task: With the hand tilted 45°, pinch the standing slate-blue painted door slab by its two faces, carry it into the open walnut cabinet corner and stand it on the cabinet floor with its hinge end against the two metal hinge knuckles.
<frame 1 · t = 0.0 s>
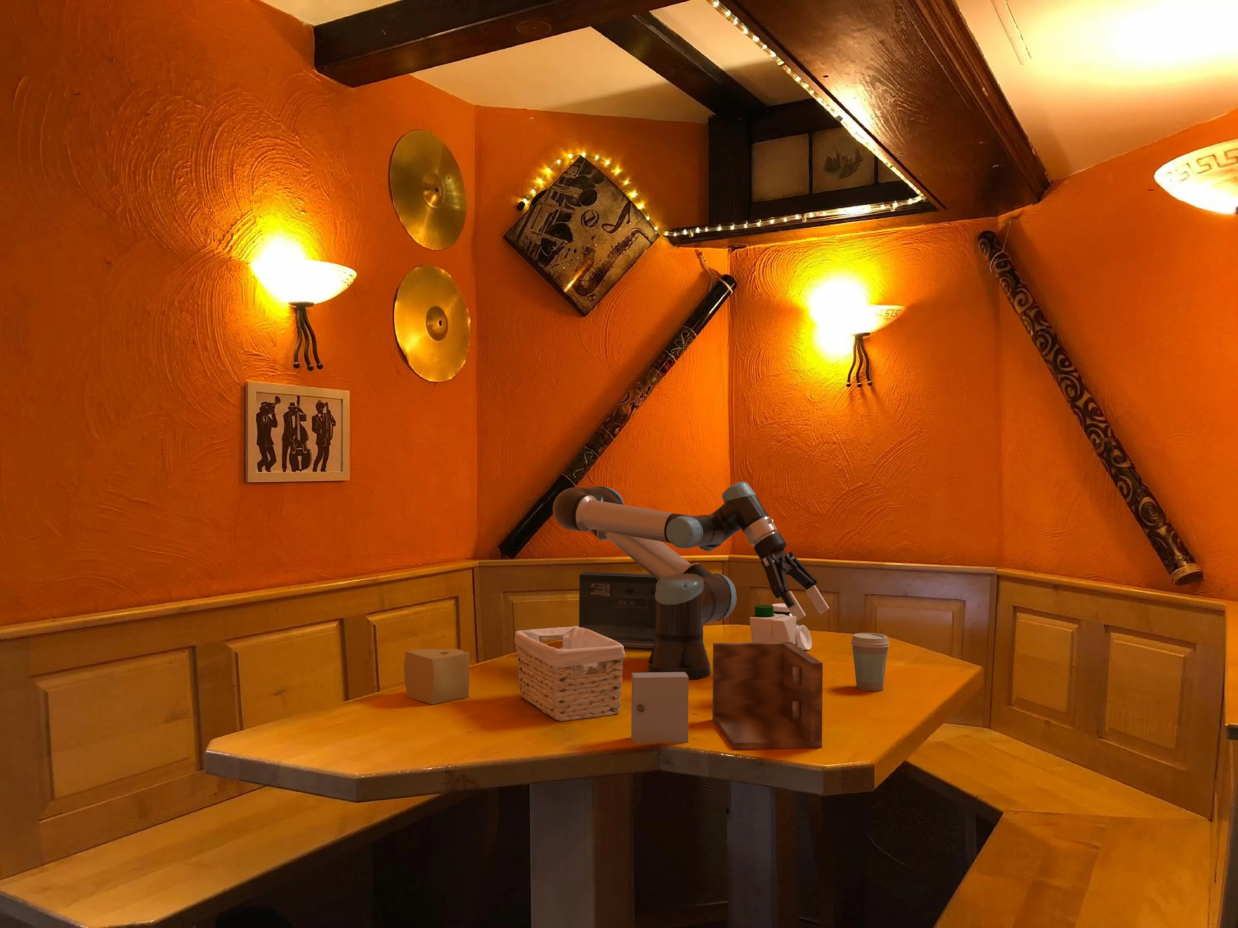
hand: (813, 614, 225), 15 cm above the table, tool tilted 35°, fingers open, 13 cm apart
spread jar: (790, 648, 264), on the table
beige cube with hole: (437, 698, 205), on the table
storage basket: (567, 707, 199), on the table
coffee cup: (869, 689, 217), on the table
cabinet: (764, 732, 180), on the table
milk carton: (772, 700, 206), on the table
cassette player: (632, 647, 264), on the table
door: (659, 739, 175), on the table
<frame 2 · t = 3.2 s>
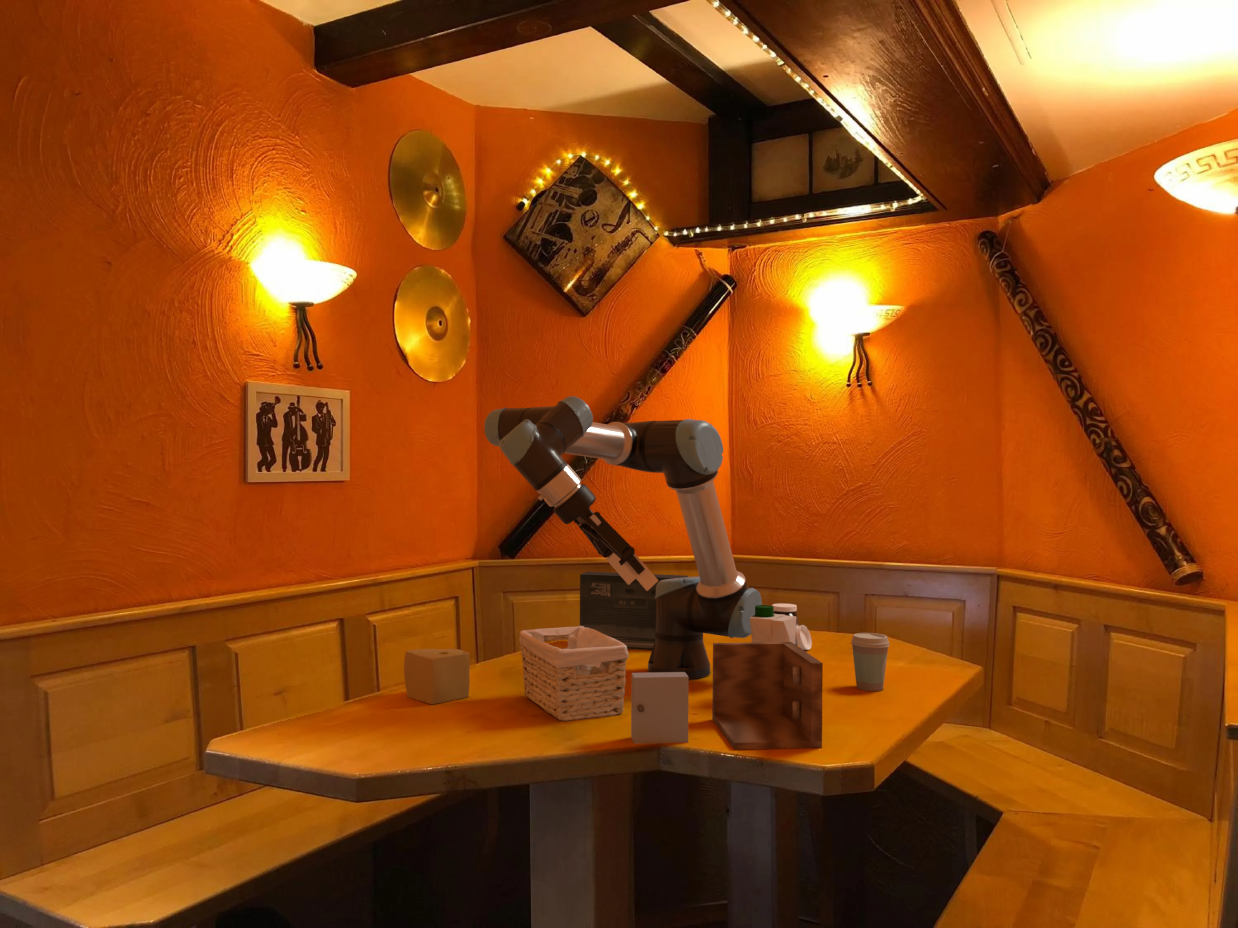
hand: (642, 582, 174), 29 cm above the table, tool tilted 40°, fingers open, 13 cm apart
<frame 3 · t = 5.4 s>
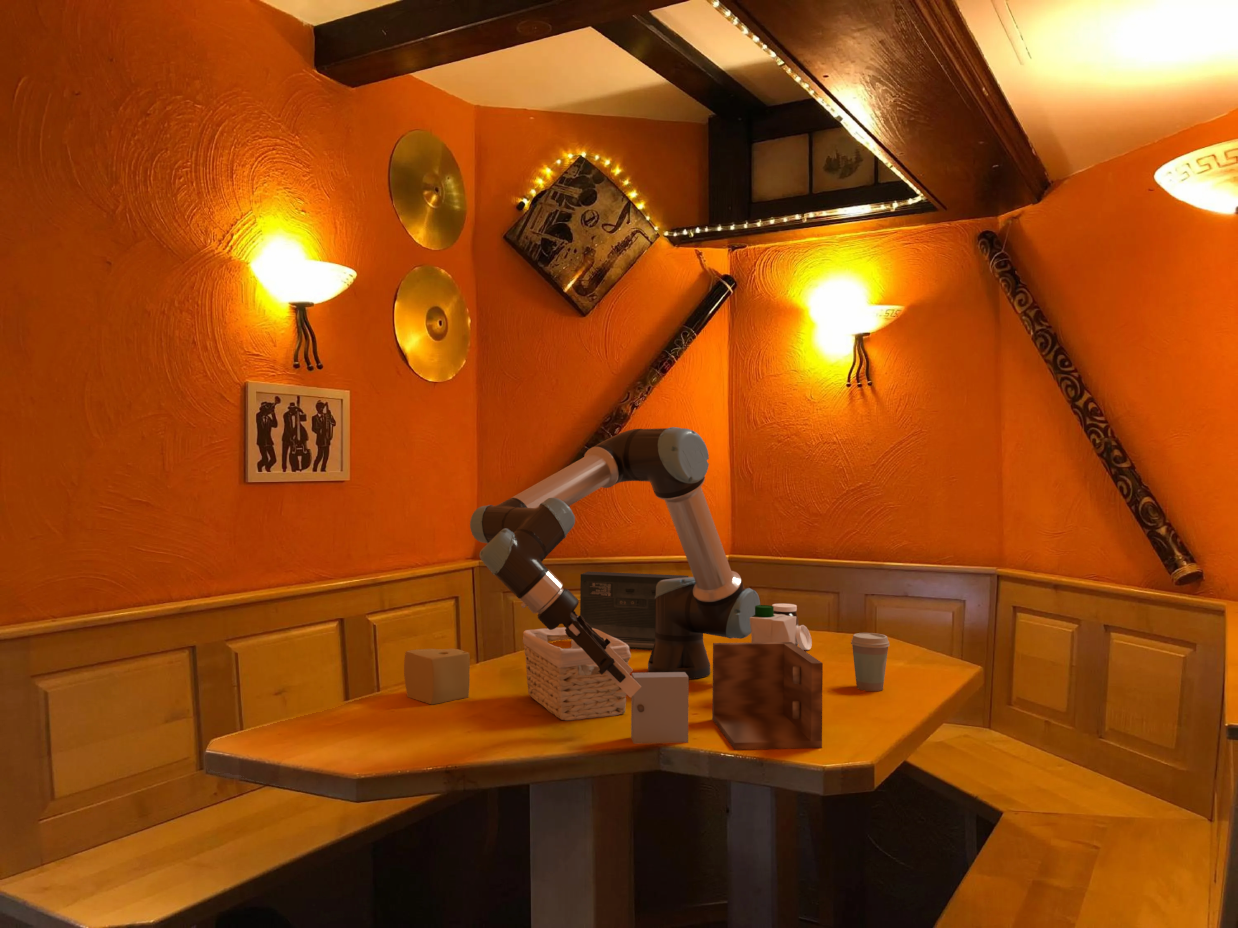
hand: (631, 683, 174), 11 cm above the table, tool tilted 45°, fingers open, 13 cm apart
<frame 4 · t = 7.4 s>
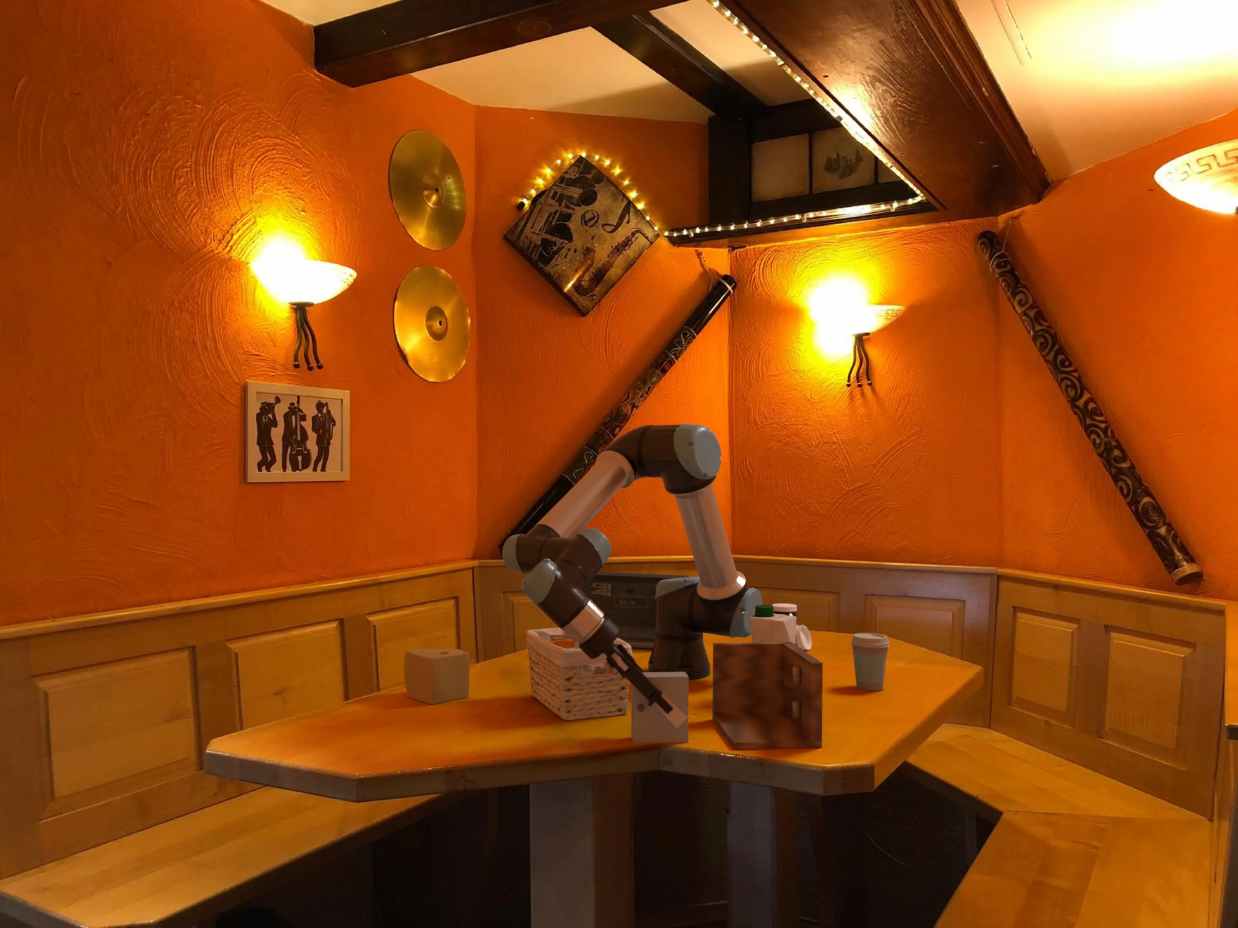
hand: (679, 718, 176), 4 cm above the table, tool tilted 45°, fingers closed on door, 4 cm apart
door: (659, 739, 175), on the table, touching gripper
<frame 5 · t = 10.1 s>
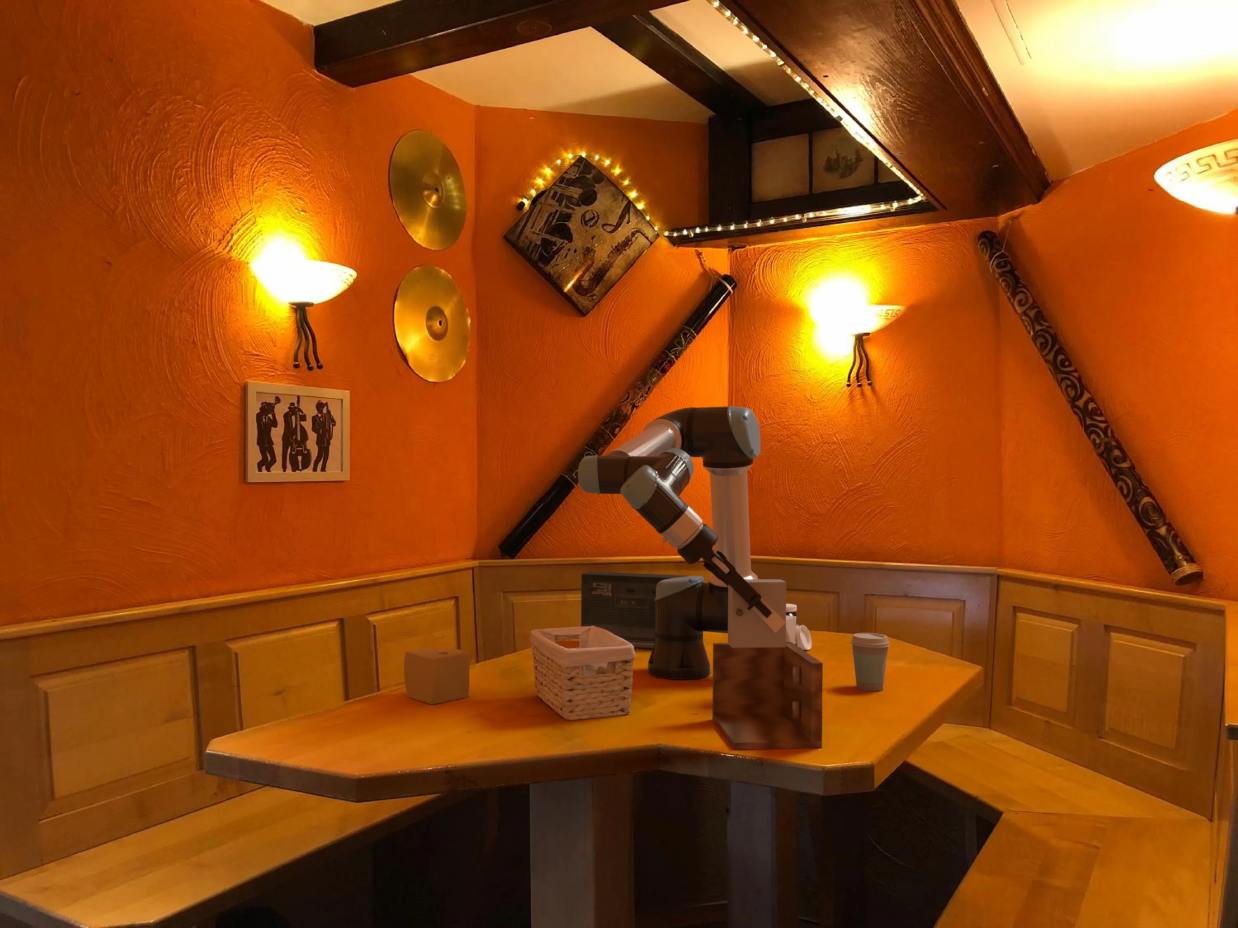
hand: (776, 624, 177), 21 cm above the table, tool tilted 45°, fingers closed on door, 4 cm apart
door: (756, 645, 177), point 17 cm above the table, touching gripper
when the fingers open (6 cm above the table, at t = 13.3 s): door stays where it is, resting on cabinet.
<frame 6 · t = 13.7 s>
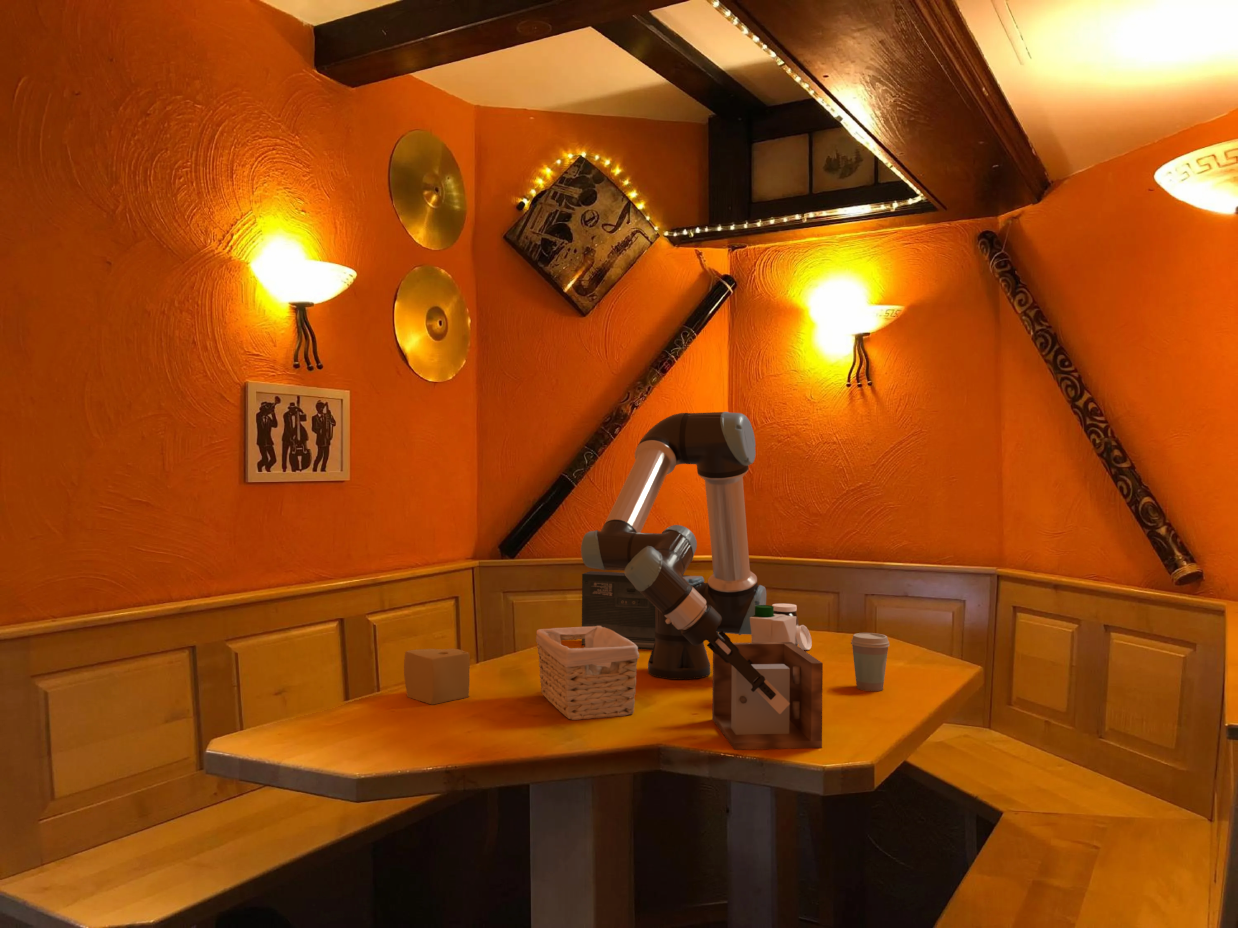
hand: (777, 701, 177), 7 cm above the table, tool tilted 45°, fingers open, 9 cm apart
door: (760, 730, 177), point 1 cm above the table, touching cabinet
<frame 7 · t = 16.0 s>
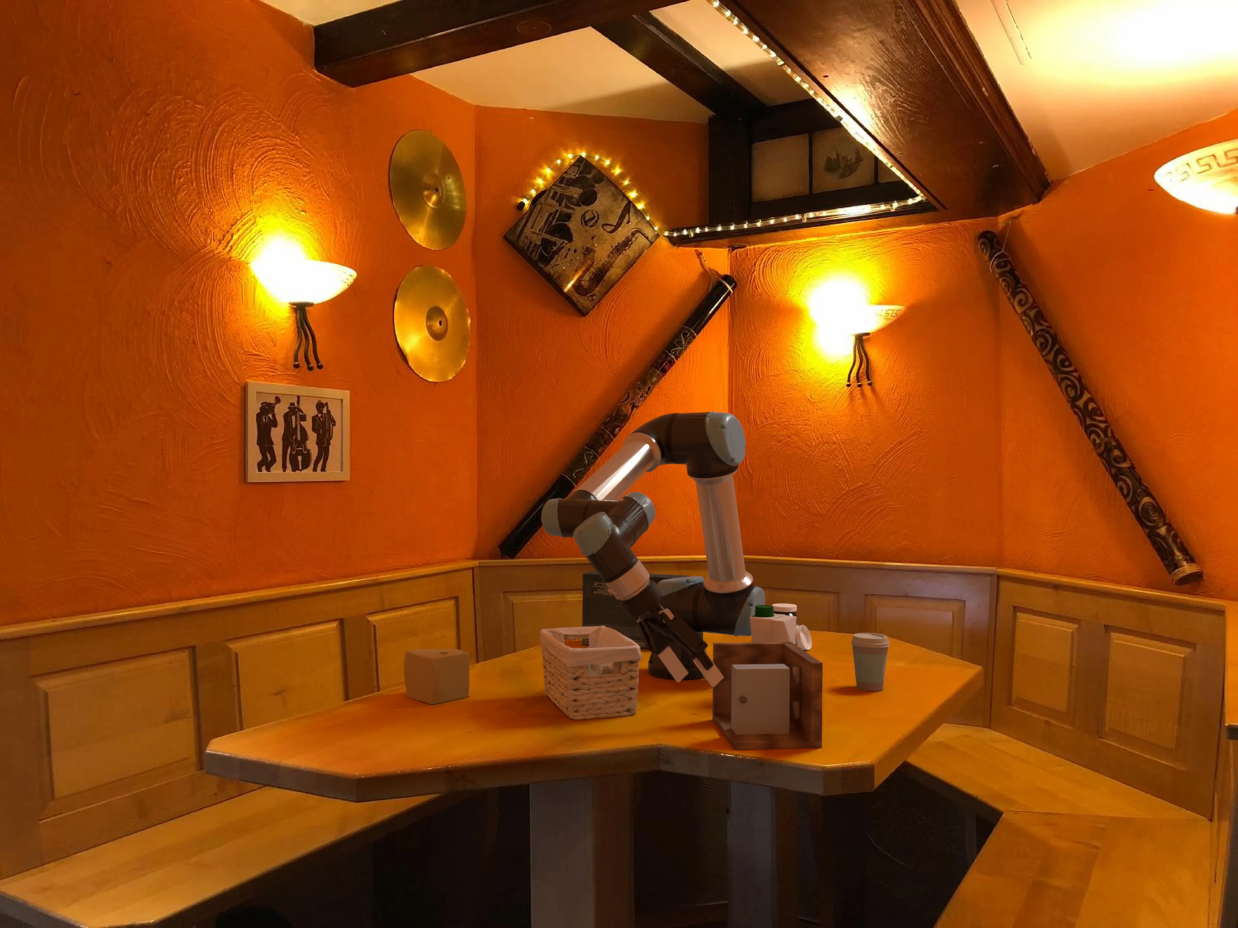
hand: (699, 679, 177), 11 cm above the table, tool tilted 35°, fingers open, 13 cm apart
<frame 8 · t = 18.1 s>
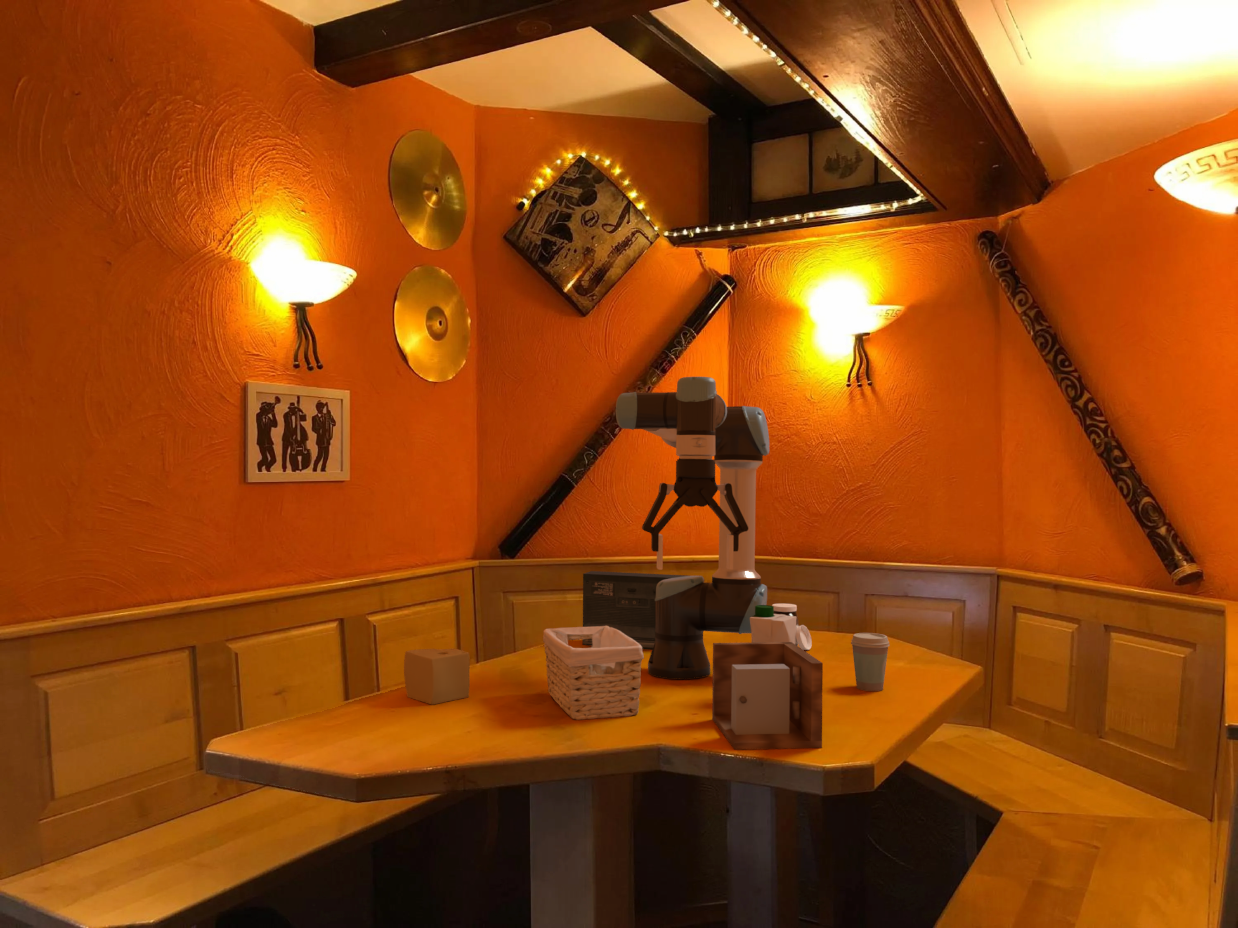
hand: (694, 568, 182), 31 cm above the table, tool pointing down, fingers open, 13 cm apart
at the end: door inside the target area (0.1 cm from its centre), point 1.2 cm above the table; door tilted 0°; door touching cabinet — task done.
